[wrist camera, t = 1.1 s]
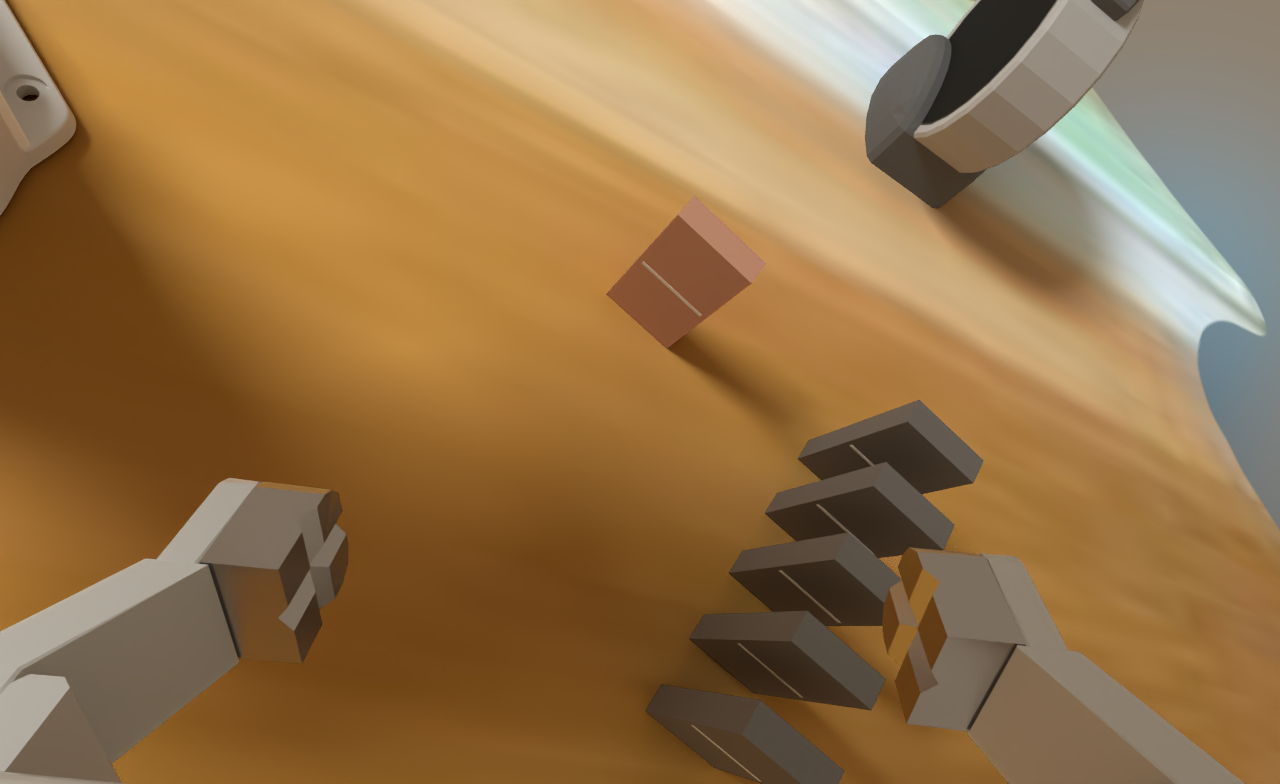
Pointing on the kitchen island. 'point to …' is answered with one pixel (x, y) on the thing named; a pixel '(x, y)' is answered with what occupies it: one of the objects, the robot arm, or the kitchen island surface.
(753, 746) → the domino
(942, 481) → the domino
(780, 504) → the domino
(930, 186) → the alarm clock
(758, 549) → the domino
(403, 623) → the kitchen island surface
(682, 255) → the domino
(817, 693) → the domino
